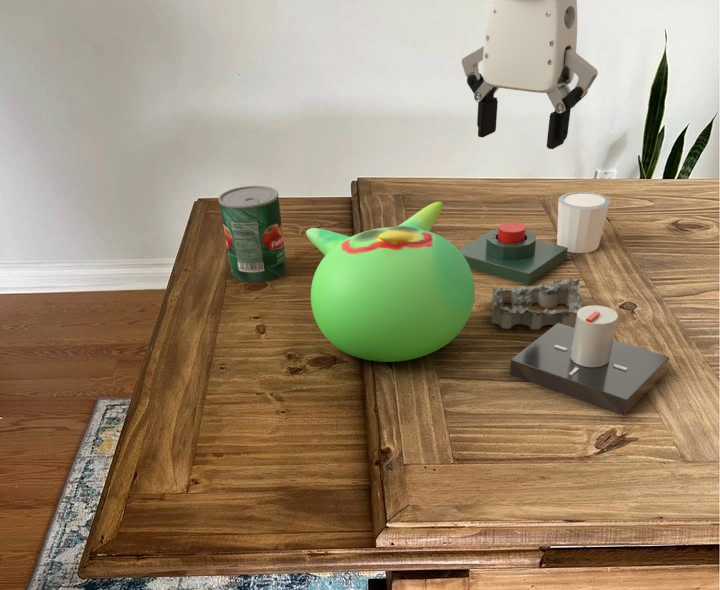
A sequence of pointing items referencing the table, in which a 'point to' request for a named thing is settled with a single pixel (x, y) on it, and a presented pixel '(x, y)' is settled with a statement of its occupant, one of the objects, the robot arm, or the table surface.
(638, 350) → the dial base plate
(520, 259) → the button housing
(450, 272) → the toy bird
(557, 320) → the egg carton
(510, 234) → the button
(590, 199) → the white cup
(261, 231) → the canned tomato
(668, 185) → the table surface
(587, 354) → the knob
